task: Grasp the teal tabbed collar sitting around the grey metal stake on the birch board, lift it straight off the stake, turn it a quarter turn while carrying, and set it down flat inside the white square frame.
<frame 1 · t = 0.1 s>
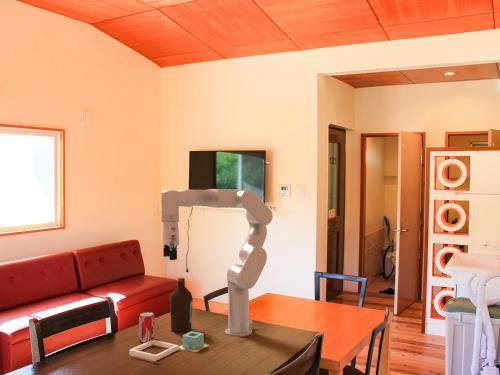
hand: (170, 258, 208), 37 cm above the table, tool pointing down, fingers open, 9 cm apart
white square frame: (154, 353, 196), on the table
stake: (193, 348, 203), on the table
collar: (193, 346, 203), point 1 cm above the table, touching stake
soda can: (146, 341, 212), on the table
olive oil: (181, 331, 225), on the table
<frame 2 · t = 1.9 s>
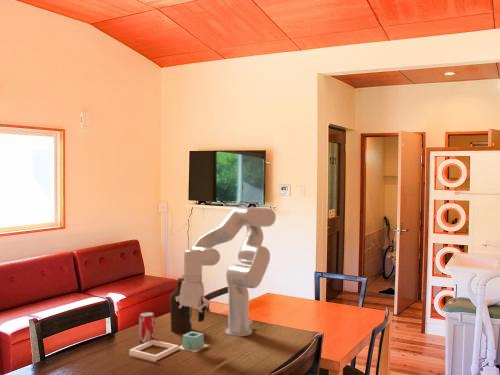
hand: (191, 319, 202), 12 cm above the table, tool pointing down, fingers open, 9 cm apart
nothing on the table moved.
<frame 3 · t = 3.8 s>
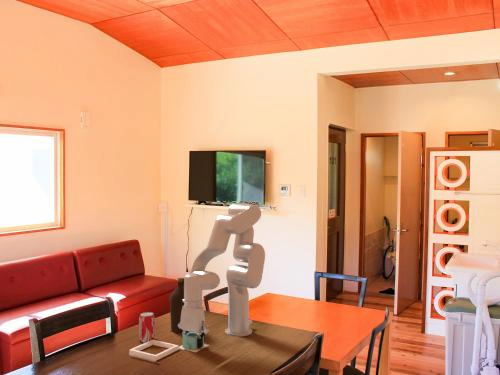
hand: (193, 345, 203), 1 cm above the table, tool pointing down, fingers closed on collar, 6 cm apart
collar: (193, 346, 203), point 1 cm above the table, touching gripper, stake
everything else where it was.
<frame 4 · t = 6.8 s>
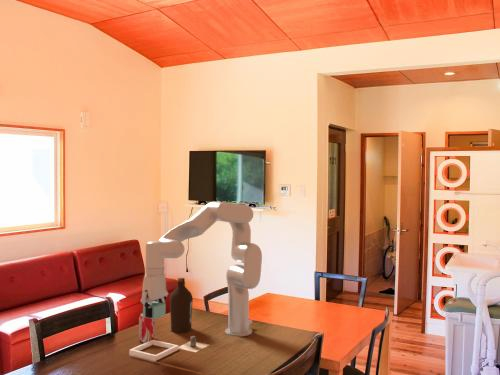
hand: (154, 314, 196), 16 cm above the table, tool pointing down, fingers closed on collar, 6 cm apart
collar: (154, 316, 196), point 15 cm above the table, touching gripper
everything else where it was.
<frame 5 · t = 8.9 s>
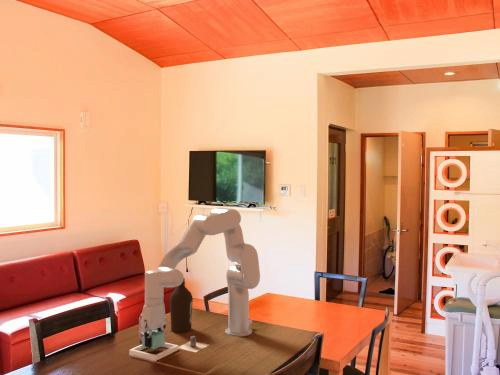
hand: (154, 344, 196), 4 cm above the table, tool pointing down, fingers closed on collar, 6 cm apart
collar: (153, 345, 196), point 3 cm above the table, touching gripper
everything else where it was.
when the fingers open (2 cm above the table, at t = 10.2 s): collar drops 1 cm, resting on white square frame.
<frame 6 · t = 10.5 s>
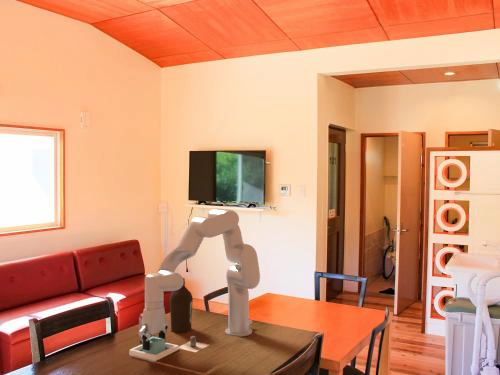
hand: (154, 346, 196), 3 cm above the table, tool pointing down, fingers open, 9 cm apart
collar: (153, 352, 196), point 1 cm above the table, touching white square frame
everything else where it was.
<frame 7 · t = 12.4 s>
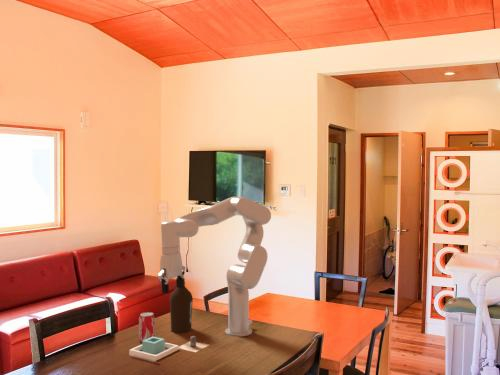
hand: (172, 290, 204), 24 cm above the table, tool pointing down, fingers open, 9 cm apart
nothing on the table moved.
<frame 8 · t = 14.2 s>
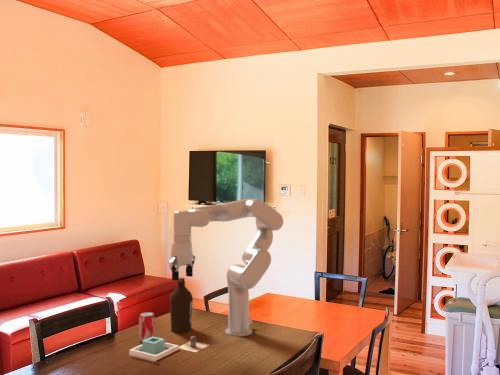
hand: (182, 278, 209), 28 cm above the table, tool pointing down, fingers open, 9 cm apart
nothing on the table moved.
at the end: collar inside the target area on the white square frame (0.3 cm from its centre), point 0.6 cm above the white square frame's base; collar tilted 0°; the gripper is holding nothing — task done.
